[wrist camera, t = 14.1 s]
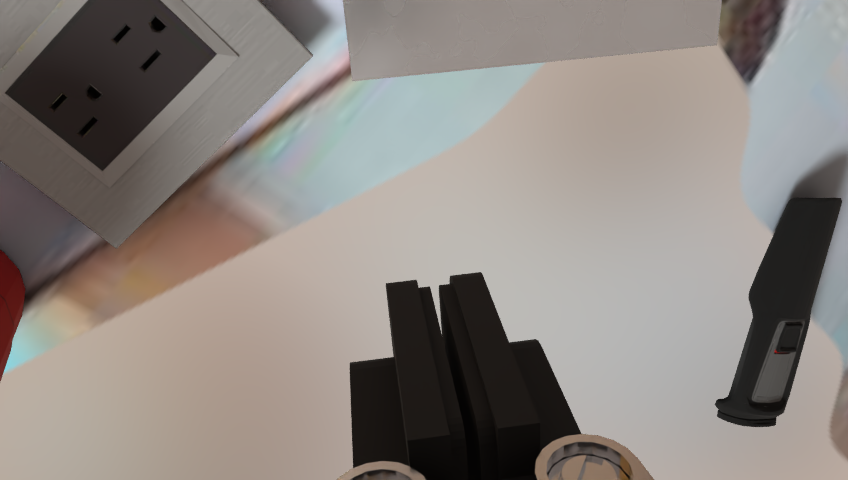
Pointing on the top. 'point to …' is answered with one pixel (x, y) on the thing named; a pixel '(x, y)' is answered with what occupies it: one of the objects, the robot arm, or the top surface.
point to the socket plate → (515, 32)
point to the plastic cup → (9, 306)
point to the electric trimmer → (780, 312)
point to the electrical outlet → (131, 96)
